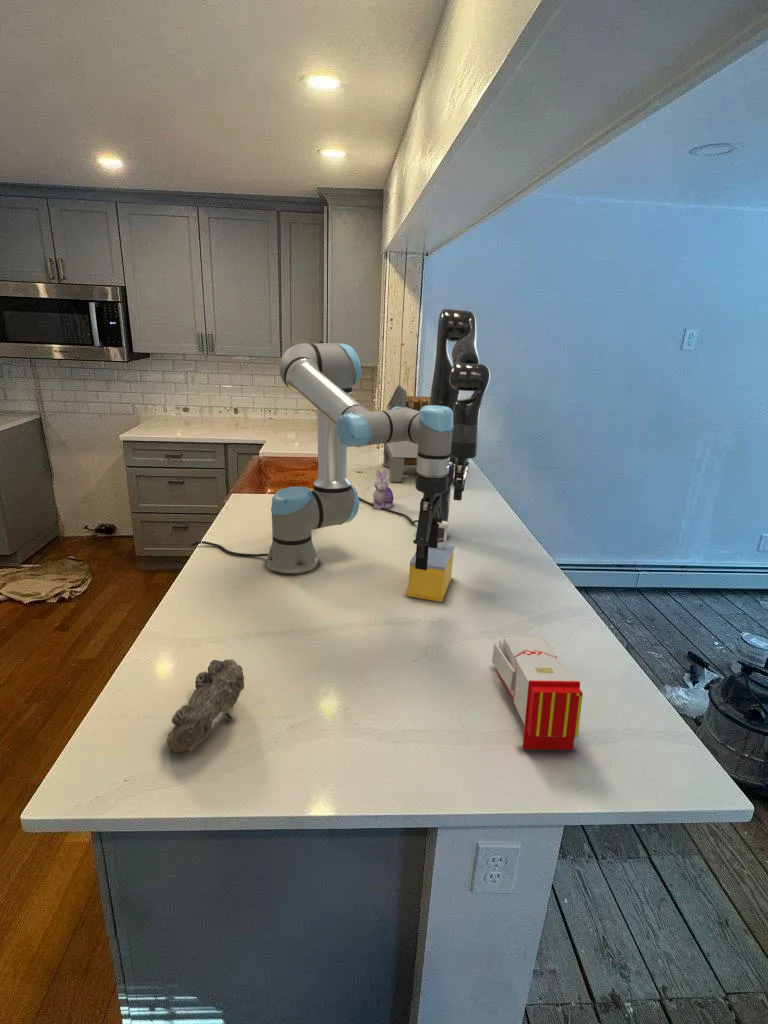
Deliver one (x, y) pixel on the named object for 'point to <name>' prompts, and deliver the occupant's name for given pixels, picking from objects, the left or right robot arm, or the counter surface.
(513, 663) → the toy
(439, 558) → the lid
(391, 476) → the grey slatted crate
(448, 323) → the right robot arm
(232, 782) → the counter surface
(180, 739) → the fossil
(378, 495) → the figurine
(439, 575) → the chest
